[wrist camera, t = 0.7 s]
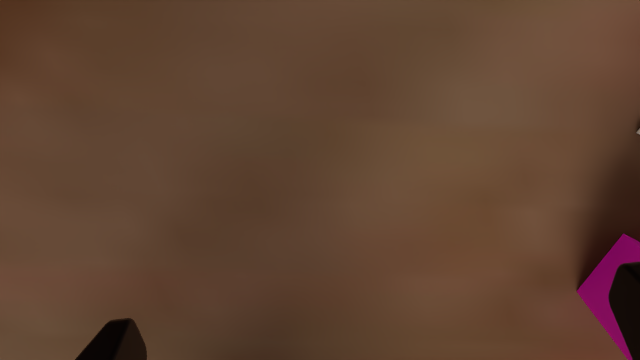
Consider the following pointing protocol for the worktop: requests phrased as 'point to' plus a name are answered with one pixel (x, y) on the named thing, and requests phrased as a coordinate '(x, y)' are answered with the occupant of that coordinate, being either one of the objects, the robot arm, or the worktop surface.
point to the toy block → (601, 281)
